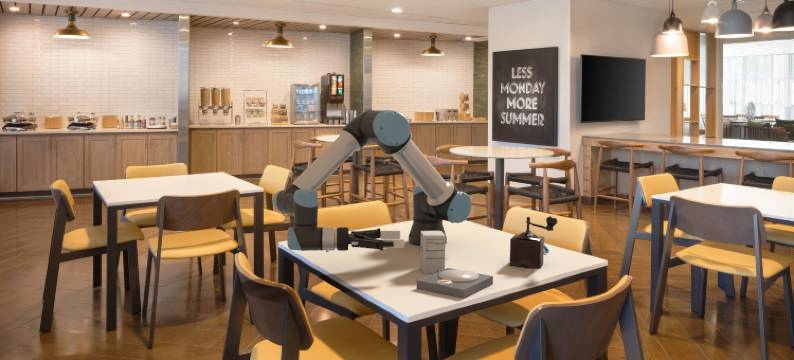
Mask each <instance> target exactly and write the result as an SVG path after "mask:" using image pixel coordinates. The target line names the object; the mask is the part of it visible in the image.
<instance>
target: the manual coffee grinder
mask: <svg viewBox="0 0 794 360" xmlns="http://www.w3.org/2000/svg"><path fill="white" fill-rule="evenodd" d="M545 221H546V226H544V225H542V224H538V223H533V222H531V216H527V217H526V221H525V223H526V230H525V231H523V232H521V233H515V234H514V235H513V236H512V237H511V238H510V243H509V246H510V247H509V264H508V265H509V267H513V268H514V267H516V268H522V269H526V268H527V269H538V270H539V269H541V268H542V267H543V266H544V254H545V253H544V251H545V250H544V245H545V236H543V235H542V236H540V235H537V234H535V233H534V232H533V231H532V232H533V233H532V232H530V231H531V230H530V225H531V226H533V227H536V228H540V229H544V230H546V231H547V232H549V231H551V232H553V231H554V228H555V226H556V225H557V224H558V219H557V218H556V217H555V216H552V215H549V216H547V217H546V219H545Z"/></svg>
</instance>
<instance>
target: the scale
mask: <svg viewBox="0 0 794 360" xmlns="http://www.w3.org/2000/svg"><path fill="white" fill-rule="evenodd" d="M493 284H494V276H493V275H489V274H482V273H479V272H474V271H472V270H467V269H466V270H465V269H456V268H451V267H445V269H444V270H441V271H439V272H436V273H430V275H427V276H425V277H422V278H420V279H416V289H419V290H424V291H428V292H432V293H438V294H442V295H448V296H452V297H457V298H461V299H465V298H467V297H469V296H471V295H473V294H475V293H477V292H479V291H482V290H483V289H485V288H487V287H489V286H492V285H493Z"/></svg>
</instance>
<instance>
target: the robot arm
mask: <svg viewBox="0 0 794 360" xmlns="http://www.w3.org/2000/svg"><path fill="white" fill-rule="evenodd" d="M412 135H413V134H412V132H411V129H410V123H409V120H408V118H407V117H406V116H405V114H403V113H401V112H399V111H396V110H393V109H385V110H379V109H378V110H375V109H369V110H365V111H363V112H361V113H359V114H357V115H356V116H355V117H354V118H352V119H351V120H350V121H349V122H348V123H347V124H346V125H345V126H344V127H343V128H342V129H341V130H340V131H339V136H337V138H335V140H334V141H333V142H332V143H331V144H330V145H329V146H328V147H327V148H326V149H325V150H324V151H323V152H322V153H321V154H320V155H319V156H318V157H317V158H316V159H315V160H314V161H313V162H312V163H311V164H310V165H309V166H308V167H307V168H306V169H305V170H304V171H303V172H302V173H300V175H299V176H298V177H296V179H295V180H294V181H293V182H292V183H291V184H290V185H289V186H288V187H287V188H286V189H282V190H279V191H276V193H275V194H274V195H273V197H272V204H273V207H274V209H275V210H277V211H278V212H280V213H281V214H284V215H289V216H292V217H293V226H289V227H288V229H287V240H286V241H287V242H286V243H287V248H288V249H289V250H290V251H301V252H305V251H306V252H307V251H325V253H329V251H335V250H337V251H338V252H339V251H341V252H343V251H344V252H346V251H348V250H349V245H350V246H351V248H363V249H372V250H379V251H381V252H383V251H384V249H404V248H405V239H404V238H401V230H381V228H379V227H378V228H375V229H367V230H357V231H354V230H351V231H349V227H347V226H344V227H343V226H339V227H337V228H336V227H335V226H321V227H320V226H318V225H319V224H318V221H319V220H318V219H319V216H318V215H319V198H318V192H317V190H318V189H319V188H320V187H321V186H322V185H323V184H324V183H325V182H326V181H327V180H328V179H329V178H330V176H332V175H333V174H334V173H335V172H336V170H338V168H340V167H341V166H342V165H343V164H344V162H346V161H347V160H348V158H350V157H351V155H352V154H354V152H359V151H361V149H362V148H364V147H365V146H367V145H368V144H375V145H377V146H378V147H379V149H380V150H381V151H382V152H383V153H384V154H385V155H386V156H392V157H393V158H394V159H395V160H396V161H397V163H398V164H399V165H400V166H401V167H402V168H403V170H404V171H405V172H406V173H407V175H409V176H410V178H411V179H412V180H413V182H415V183H416V184H417V185H415V186H414V188H413V194H412V205H413V206H412V208H413V209H412V225H411V228H410V231H409V235H408V240H407V241H408V243H409V244H411V245H414V246H421V231H442V232H443V233H444V235H445V245H446V244H447V243H448V242H447V240H448V239H447V234H446V230H445V227H444V224H443V221H446V222H449V223H451V224H454V223H455V224H461V223H463V222H465V220H466V221H467V219H468V217H469V216H470V214H471V211H472V207H473V206H472V204H473V203H472V198H471V197H470V195H469V194H468V193H466V192H464V191H460V190H459V189H458V188H457V187H456V186H455V185H454V184H453V182H452V181H449V180H445V179H444V178H443V176H442V175H441V174H440V173H439V171H437V169H436V167H434V166H433V164H432V163H431V162H430V161H429V160H428V158H427V157H426V156H425V155H424V153H423V152H422V151H421V149H419V147H418V146H417V144H415V143H414V141H413V140H412V137H413V136H412Z"/></svg>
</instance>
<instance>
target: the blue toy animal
mask: <svg viewBox="0 0 794 360" xmlns="http://www.w3.org/2000/svg"><path fill="white" fill-rule="evenodd" d="M529 231H530V232H532V233H534V232H533V231H532V230H529ZM544 251H545V252H547V253H549V252H550V249H549V248H548V247H547V246H546V244H544Z"/></svg>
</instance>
